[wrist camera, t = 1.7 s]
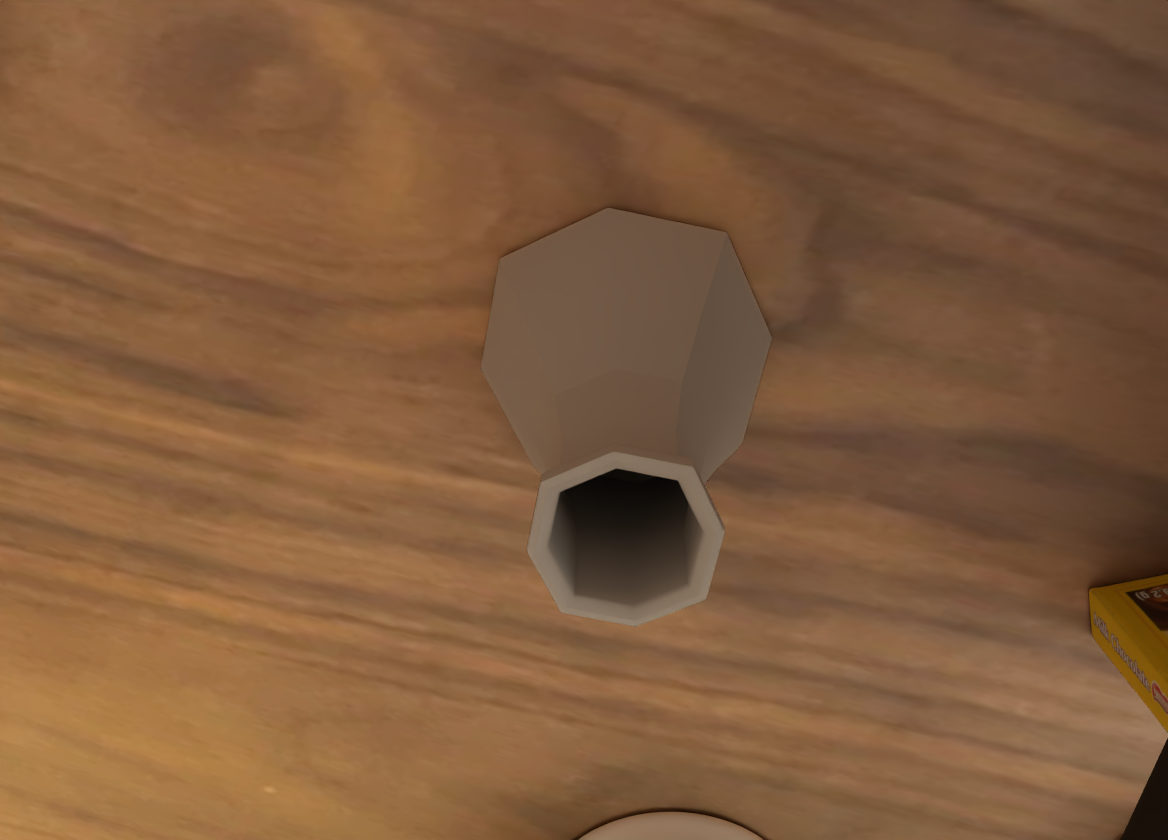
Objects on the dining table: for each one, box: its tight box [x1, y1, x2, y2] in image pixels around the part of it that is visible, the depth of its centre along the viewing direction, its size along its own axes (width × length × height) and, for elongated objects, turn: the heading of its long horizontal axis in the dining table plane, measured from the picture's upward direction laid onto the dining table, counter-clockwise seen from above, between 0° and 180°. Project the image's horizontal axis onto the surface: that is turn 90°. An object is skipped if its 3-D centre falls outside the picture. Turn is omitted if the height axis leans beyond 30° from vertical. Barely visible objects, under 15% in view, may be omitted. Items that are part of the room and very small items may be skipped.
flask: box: [481, 208, 772, 627], centre depth 21 cm, size 7×7×10 cm
